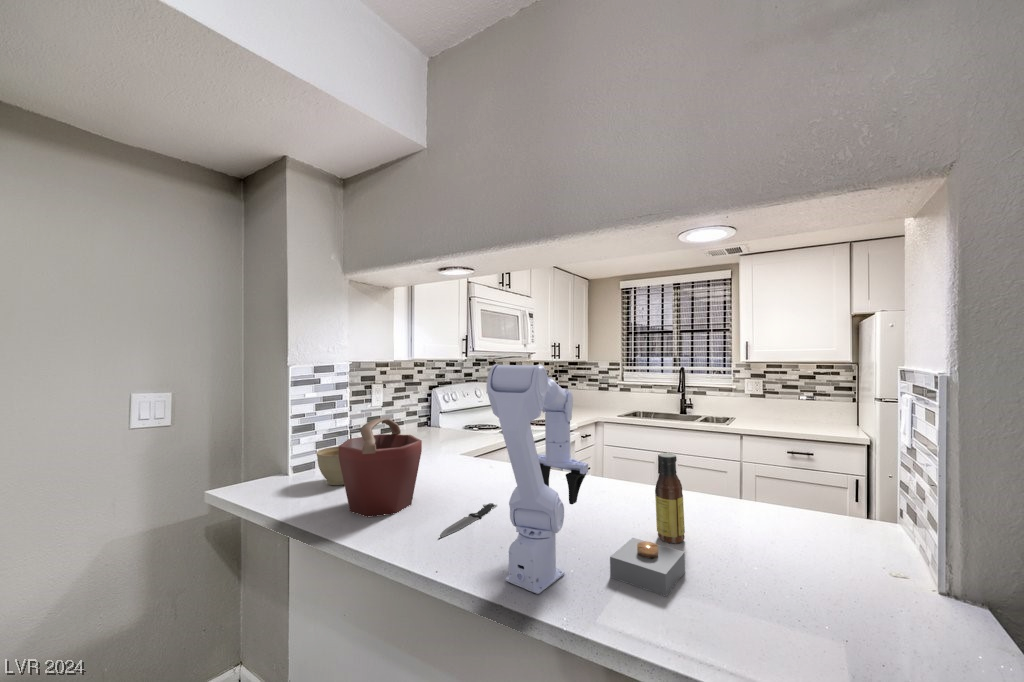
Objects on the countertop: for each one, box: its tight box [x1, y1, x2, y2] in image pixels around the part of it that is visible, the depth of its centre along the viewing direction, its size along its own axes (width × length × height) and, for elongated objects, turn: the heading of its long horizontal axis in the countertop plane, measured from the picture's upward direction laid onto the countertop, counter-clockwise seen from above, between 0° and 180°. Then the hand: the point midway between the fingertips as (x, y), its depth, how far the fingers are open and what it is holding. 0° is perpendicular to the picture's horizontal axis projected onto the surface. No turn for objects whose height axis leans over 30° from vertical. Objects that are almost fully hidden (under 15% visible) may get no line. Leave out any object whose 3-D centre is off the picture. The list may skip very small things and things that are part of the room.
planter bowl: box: [316, 445, 345, 486], centre depth 150 cm, size 16×16×11 cm
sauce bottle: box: [654, 452, 686, 544], centre depth 103 cm, size 6×6×20 cm
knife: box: [439, 502, 498, 539], centre depth 115 cm, size 26×1×5 cm
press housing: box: [609, 537, 686, 597], centre depth 87 cm, size 11×11×4 cm
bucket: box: [338, 417, 423, 518], centre depth 127 cm, size 24×22×25 cm
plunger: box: [637, 540, 658, 559], centre depth 87 cm, size 4×4×6 cm
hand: (558, 499), depth 101 cm, fingers open, 7 cm apart
